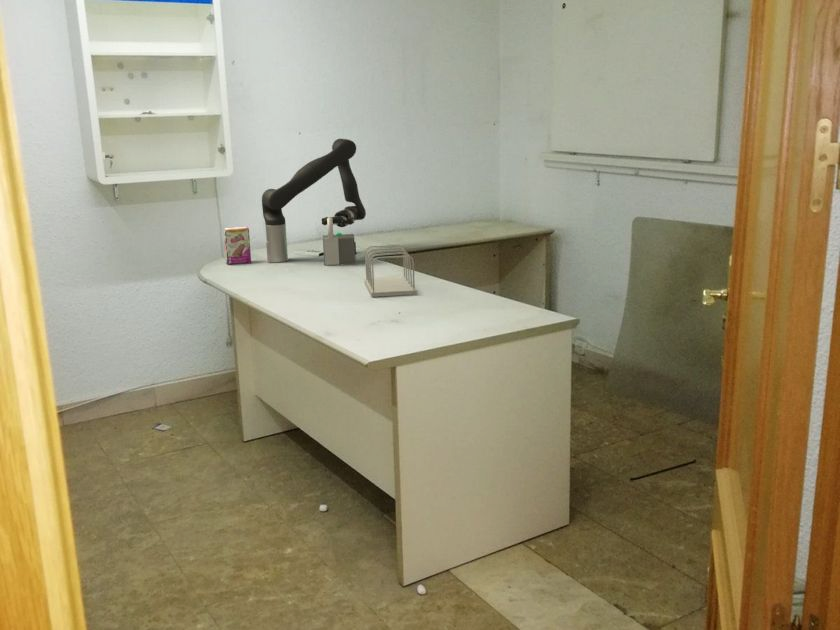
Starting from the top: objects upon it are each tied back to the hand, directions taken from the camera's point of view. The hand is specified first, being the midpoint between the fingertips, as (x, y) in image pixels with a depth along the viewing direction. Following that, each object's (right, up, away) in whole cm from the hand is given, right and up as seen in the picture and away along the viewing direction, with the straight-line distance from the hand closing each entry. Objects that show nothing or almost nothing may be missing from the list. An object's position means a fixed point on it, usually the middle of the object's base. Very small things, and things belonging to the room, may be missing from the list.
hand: (333, 223), depth 369 cm
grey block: (+2, -17, +7) cm, 19 cm away
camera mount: (+1, -13, +26) cm, 29 cm away
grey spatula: (0, -19, +1) cm, 19 cm away
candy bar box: (-45, -17, +12) cm, 50 cm away
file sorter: (+27, -32, -46) cm, 62 cm away
